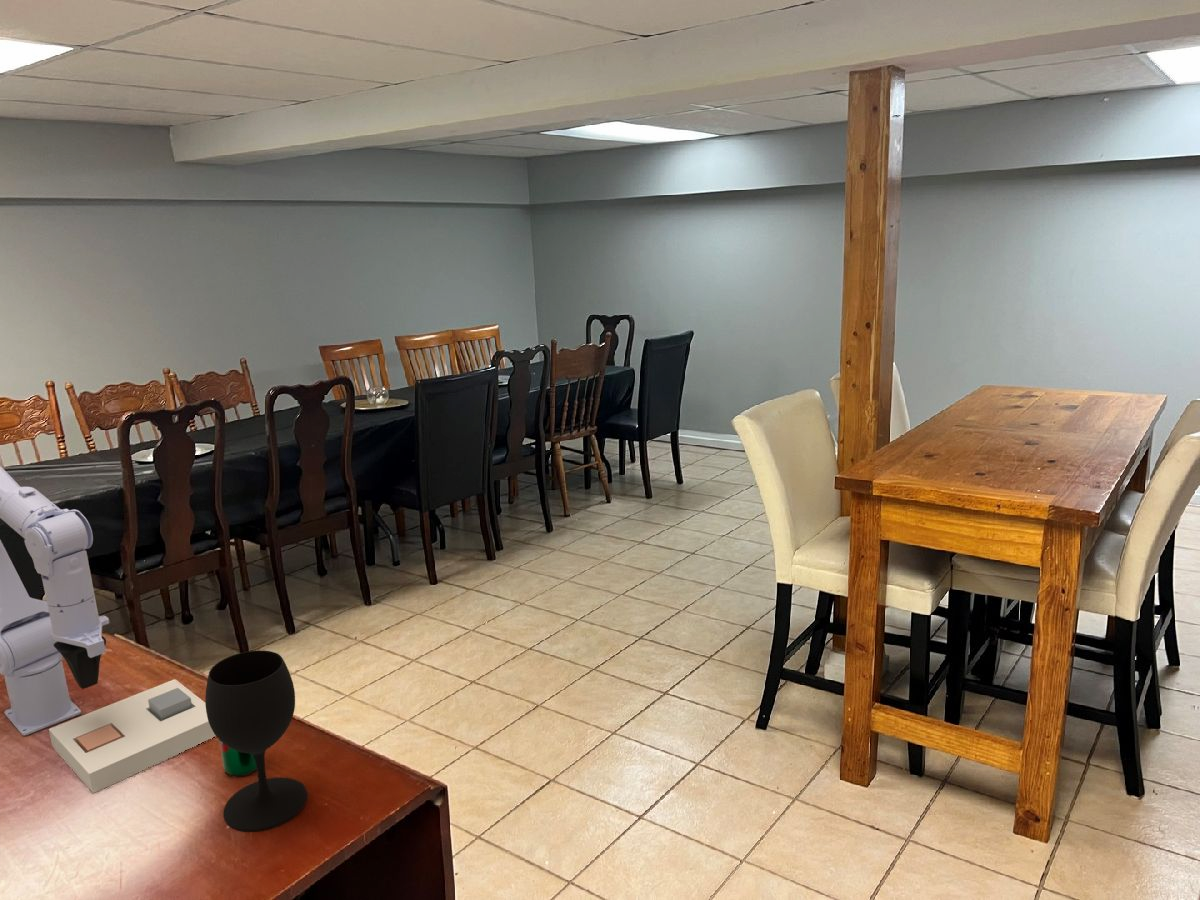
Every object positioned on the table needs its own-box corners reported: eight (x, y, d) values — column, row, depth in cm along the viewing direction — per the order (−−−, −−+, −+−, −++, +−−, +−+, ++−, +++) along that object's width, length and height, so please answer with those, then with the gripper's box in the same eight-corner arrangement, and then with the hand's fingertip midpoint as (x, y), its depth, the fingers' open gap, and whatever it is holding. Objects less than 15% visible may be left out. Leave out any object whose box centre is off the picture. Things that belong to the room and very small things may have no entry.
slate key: (150, 711, 131) (148, 699, 130) (179, 699, 134) (177, 687, 133) (162, 722, 128) (160, 710, 127) (192, 709, 131) (190, 697, 131)
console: (52, 747, 127) (48, 729, 126) (177, 695, 140) (174, 679, 139) (93, 793, 117) (89, 773, 116) (224, 733, 129) (221, 715, 129)
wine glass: (222, 792, 116) (201, 657, 111) (304, 771, 120) (287, 640, 115) (223, 841, 107) (200, 697, 102) (311, 817, 111) (293, 677, 106)
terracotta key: (79, 750, 124) (76, 738, 124) (111, 736, 127) (109, 724, 127) (90, 762, 121) (87, 750, 121) (123, 748, 124) (121, 736, 124)
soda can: (249, 780, 119) (238, 701, 115) (216, 776, 120) (204, 698, 116) (270, 757, 123) (259, 682, 120) (238, 754, 124) (226, 678, 121)
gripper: (121, 602, 120) (137, 690, 123) (83, 575, 129) (99, 658, 133) (64, 621, 115) (83, 712, 118) (29, 591, 124) (47, 676, 128)
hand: (88, 684), depth 125 cm, fingers closed
